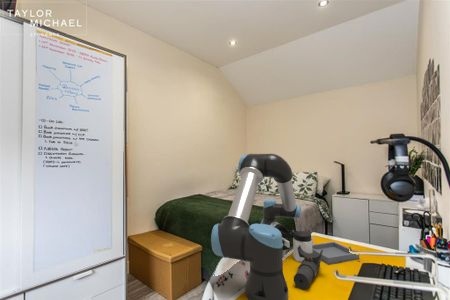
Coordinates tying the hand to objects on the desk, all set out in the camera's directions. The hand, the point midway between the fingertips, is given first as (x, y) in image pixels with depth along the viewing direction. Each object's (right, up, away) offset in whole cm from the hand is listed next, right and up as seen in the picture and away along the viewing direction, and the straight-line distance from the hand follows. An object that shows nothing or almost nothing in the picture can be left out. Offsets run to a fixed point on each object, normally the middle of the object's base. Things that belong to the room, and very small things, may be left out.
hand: (301, 243), depth 114 cm
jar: (0, -7, -2) cm, 7 cm away
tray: (+16, -7, +2) cm, 17 cm away
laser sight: (-3, -7, -18) cm, 20 cm away
